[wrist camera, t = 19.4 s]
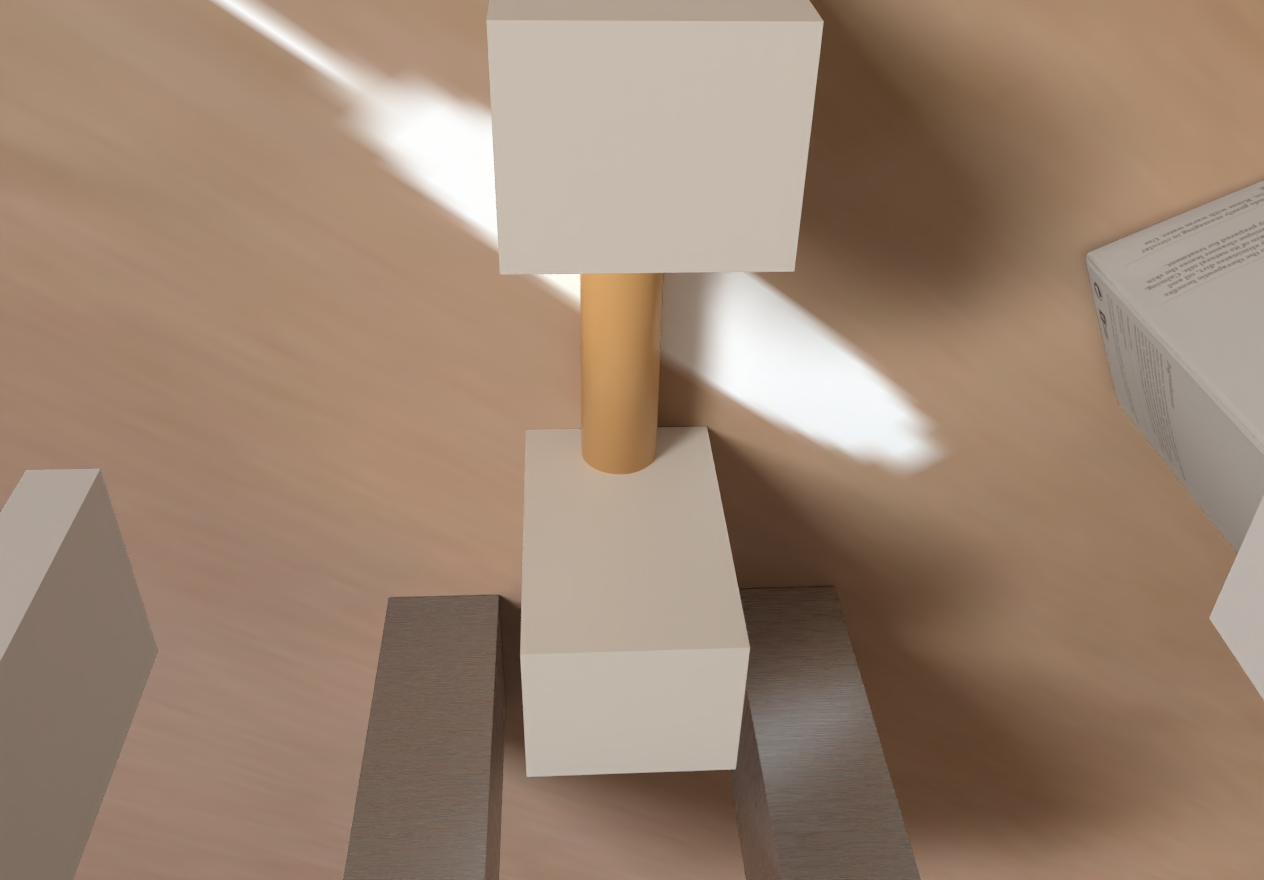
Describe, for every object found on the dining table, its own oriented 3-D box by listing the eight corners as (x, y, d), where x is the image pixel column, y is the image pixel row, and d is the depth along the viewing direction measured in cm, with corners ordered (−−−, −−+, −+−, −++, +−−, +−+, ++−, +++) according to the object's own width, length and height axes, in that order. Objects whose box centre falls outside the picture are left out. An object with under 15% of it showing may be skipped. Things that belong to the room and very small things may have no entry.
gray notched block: (404, 708, 45) (346, 1149, 32) (388, 598, 41) (316, 1043, 29) (815, 695, 46) (920, 1117, 33) (834, 586, 42) (959, 1012, 30)
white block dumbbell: (530, 544, 40) (526, 777, 32) (504, -98, 28) (486, 20, 20) (698, 540, 41) (735, 769, 33) (745, -96, 28) (823, 21, 20)
